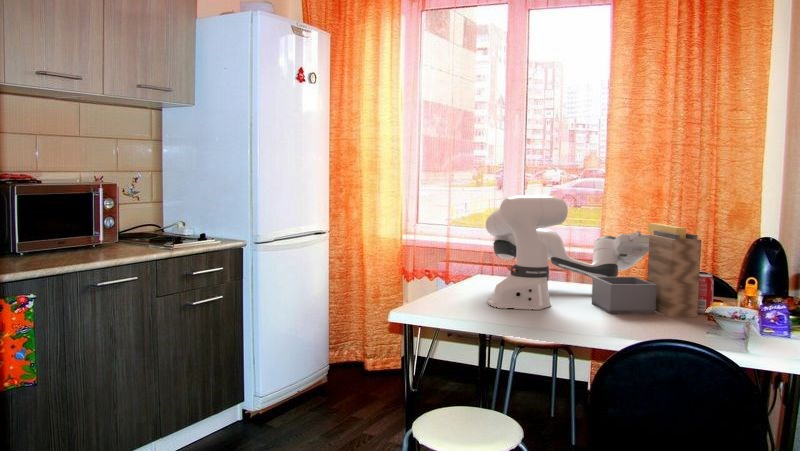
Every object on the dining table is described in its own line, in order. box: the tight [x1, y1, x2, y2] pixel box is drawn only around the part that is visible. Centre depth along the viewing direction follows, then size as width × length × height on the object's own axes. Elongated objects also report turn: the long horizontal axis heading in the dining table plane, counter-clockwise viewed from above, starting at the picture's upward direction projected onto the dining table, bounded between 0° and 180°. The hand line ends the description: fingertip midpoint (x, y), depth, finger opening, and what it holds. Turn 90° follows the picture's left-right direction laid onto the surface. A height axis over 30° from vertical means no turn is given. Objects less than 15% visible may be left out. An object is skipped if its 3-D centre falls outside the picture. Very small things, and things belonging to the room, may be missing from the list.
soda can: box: [697, 273, 715, 315], centre depth 221 cm, size 7×7×13 cm
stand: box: [646, 231, 702, 318], centre depth 219 cm, size 10×16×28 cm, turn 5°
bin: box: [591, 276, 657, 315], centre depth 224 cm, size 16×16×10 cm
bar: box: [647, 222, 687, 238], centre depth 224 cm, size 4×20×4 cm, turn 5°
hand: (651, 233), depth 236 cm, fingers open, 8 cm apart
